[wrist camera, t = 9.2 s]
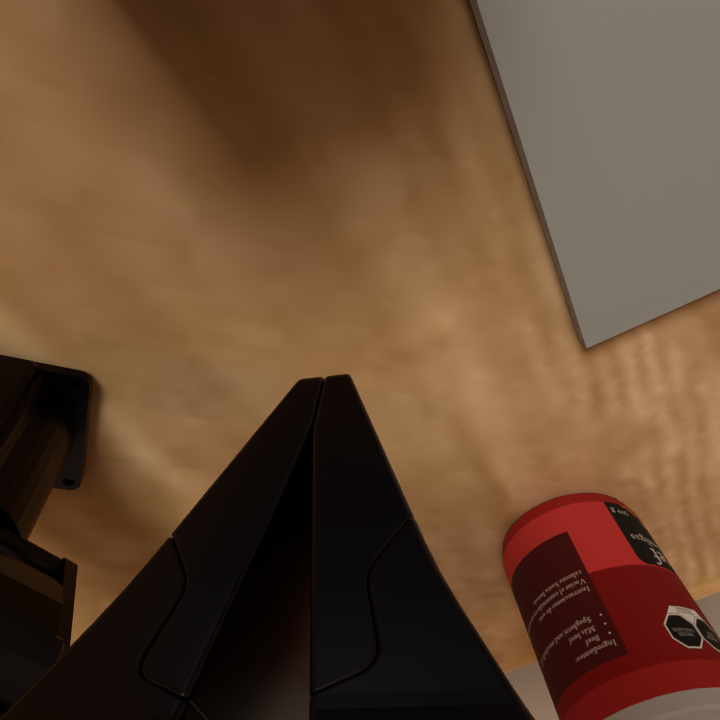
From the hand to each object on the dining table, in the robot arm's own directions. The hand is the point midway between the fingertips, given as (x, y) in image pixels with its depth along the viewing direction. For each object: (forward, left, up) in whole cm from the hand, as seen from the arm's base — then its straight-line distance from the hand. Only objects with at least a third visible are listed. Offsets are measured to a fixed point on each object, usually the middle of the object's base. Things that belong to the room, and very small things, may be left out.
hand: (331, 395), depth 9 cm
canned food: (-15, -19, -13) cm, 28 cm away
